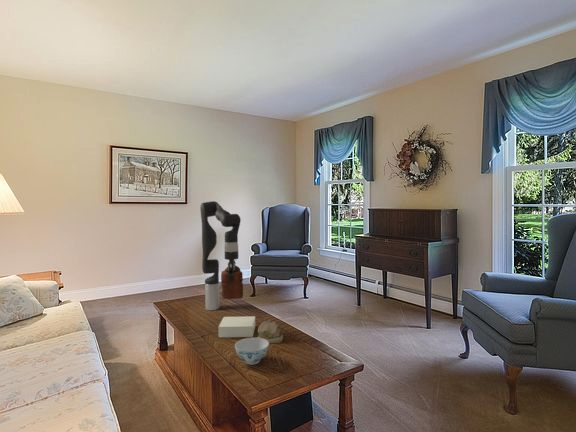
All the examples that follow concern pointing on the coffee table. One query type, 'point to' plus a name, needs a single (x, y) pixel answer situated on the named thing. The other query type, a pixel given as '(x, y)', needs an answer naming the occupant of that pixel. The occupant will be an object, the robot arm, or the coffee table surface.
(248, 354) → the chinaware
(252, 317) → the cream white square block
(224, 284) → the wooden figurine
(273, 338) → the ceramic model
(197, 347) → the coffee table surface
